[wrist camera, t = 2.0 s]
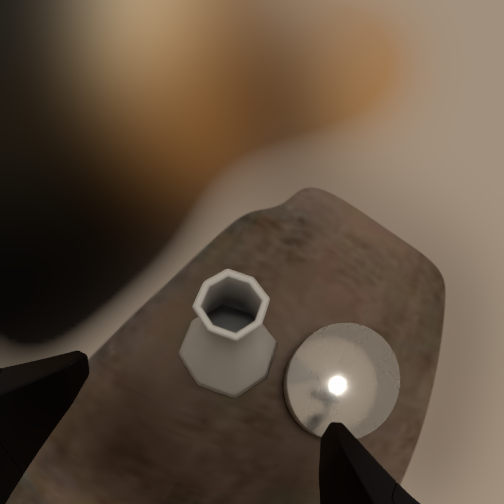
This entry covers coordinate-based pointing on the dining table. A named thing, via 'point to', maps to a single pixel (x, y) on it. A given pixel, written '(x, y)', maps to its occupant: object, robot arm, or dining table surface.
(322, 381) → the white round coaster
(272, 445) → the dining table surface
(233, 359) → the flask
